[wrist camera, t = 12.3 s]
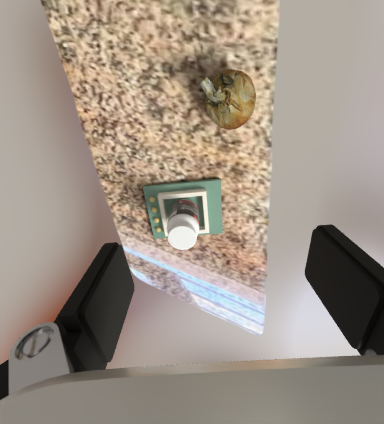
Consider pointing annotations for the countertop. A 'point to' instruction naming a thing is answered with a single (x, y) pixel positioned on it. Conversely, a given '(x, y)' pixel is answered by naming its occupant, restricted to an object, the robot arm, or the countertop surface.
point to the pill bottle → (183, 224)
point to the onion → (229, 98)
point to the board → (192, 190)
